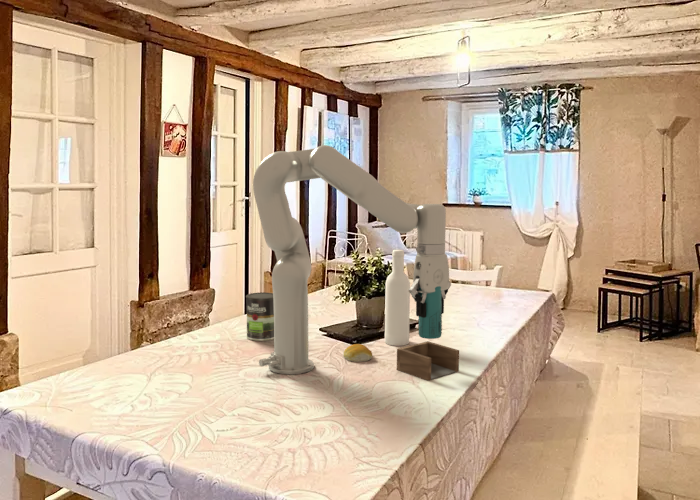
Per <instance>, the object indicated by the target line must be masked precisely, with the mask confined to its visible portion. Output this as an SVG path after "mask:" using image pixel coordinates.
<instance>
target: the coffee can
mask: <svg viewBox="0 0 700 500" xmlns="http://www.w3.org/2000/svg"><path fill="white" fill-rule="evenodd" d="M245 298H246V339H247V340H250V341H255V342H266V341H272V340H273V341H274V301H273V292H261V291H260V292H252V293H247V294H246V295H245Z"/></svg>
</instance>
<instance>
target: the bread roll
mask: <svg viewBox="0 0 700 500" xmlns="http://www.w3.org/2000/svg"><path fill="white" fill-rule="evenodd" d="M343 357H344V358H345V360H347V361H349V362H354V363H362V362H367V361H370V360H371V359H372V357H373V352H372V350H370V349H369V348H368V347H367V346H366V345H364V344H360V343H354V344H351V345H349V346H347V347H346V348H345V349H344V351H343Z"/></svg>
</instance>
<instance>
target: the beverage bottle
mask: <svg viewBox="0 0 700 500" xmlns="http://www.w3.org/2000/svg"><path fill="white" fill-rule="evenodd" d="M420 290H421V288H420ZM421 291H422V290H421ZM420 296H421V297H422V293H420ZM424 303H426V317H425V318H423V317H419V316H418V318H417V321H418V322H417V324H418V325H417V326H418V328H417V329H418V336H419V337H420V338H421V339H428V340H433V339H435V340H436V339H439V338H442V334H443V332H442V325H443V321H442V319H443V314H442V301H441V287H440V286H438V287H436V288H435V292H433V293H427V296H426V299H425V302H424Z"/></svg>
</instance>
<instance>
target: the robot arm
mask: <svg viewBox="0 0 700 500" xmlns="http://www.w3.org/2000/svg"><path fill="white" fill-rule="evenodd" d="M314 179H315V180H316V179H321V180H323V181H324V182H325V183H327V184H328V185H330V186H331V187H333V188H335V189H336V190H338V191H339V192H340V193H342V195H344V196H346V198H348V199H350V200H351V201H352V202H354V203H355V204H356V205H358V206H360V207H361V208H363V209H365V210H366V211H367V212H369V213H370V214H371V215H372V216H374V217H376V218H377V219H378V220H379V221H381V222H382V223H383V224H386V225H387V226H388V227H389V228H391V229H393V231H395V232H397V233H400V234H407V233H410V232H411V231H413V230H415V229H416V231H417V234H416V235H417V236H416V237H417V241H416V242H417V244H416V248H415V251H416V255H415V258H414V260H415V261H414V265H413V276H412V278H413V279H412V283H411V285H410V289H409V293H410V296H411V297H412V298H413V300H414V302H415V303H416V304H415V306H416V307H415V310H416V312H415V315H416V317H418V318H419V317H423V318H425V317H426V303H424V302H425V299H426V296H427V293H433V292H435V288H436V287H438V286H440V287H441V301H442V315H443V314H444V313H445V299H446V298H447V294H448V292H449V290H450V288H451V287H452V283H451V282H450V268H449V259H448V255H447V254H446V223H447V221H446V220H447V219H446V218H447V216H446V215H447V214H446V213H447V211H446V207H445V206H444V205H443V204H440V203H423V204H417V203H409V202H408V203H407V202H405V201H404V200H403V199H401V198H400V197H398V196H397V195H395V194H394V193H393V192H391V191H390V190H388V188H386V187H385V186H384V185H382V184H381V183H380V182H379V181H378V179H376V178H375V177H374V176H373V175H372V174H370V173H369V172H368V171H366V170H365V169H363V168H362V167H361V166H360V165H358V164H356V163H355V162H354V161H352V160H350V159H349V158H348V157H346V155H344V154H342V153H341V152H339V150H337V149H336V148H334V147H333V146H330V145H326V144H323V145H319V146H317V147H316V148H310V149H302V150H296V151H294V150H293V151H286V150H285V151H284V150H283V151H282V150H279V151H277V150H276V151H274V152H272V153H270V154H269V155H267V156H266V157H264V158H263V160H262V161H261V162H260V163H259V164H258V166H257V168H256V170H255V172H254V174H253V180H252V188H253V189H252V190H253V195H254V200H255V204H256V208H257V211H258V217H259V220H260V224H261V227H262V232H263V236H264V237H263V238H264V240H265V243H266V245H267V247H268V248H270V250H272V251H273V252H274V255H275V259H276V263H275V265H274V266H273V269H272V272H271V284H272V285H271V286H272V293H273V301H274V339H273V345H274V346H273V348H274V349H273V352H271V353H270V356H268V358H262V359H259V360H258V365H259V366H260V367H265V366H268V369H269V371H271V372H273V373H276V374H282V375H299V374H304V373H307V372H310V371H312V370H313V369H314V367H315V363H314V361H313V360H312V359H309V295H308V294H309V293H308V292H309V291H308V280H309V278H310V276H311V273H312V270H313V269H312V267H313V266H312V261H311V257H310V254H309V250H308V246H307V243H306V238H305V235H304V231H303V227H302V226H301V224H300V222H299V221H298V220H297V219H296V218H295V217H293V215H292V211H291V209H290V204H289V199H288V196H287V194H286V191H285V190H286V189H285V188H286V184H287V183H294V182H301V181H307V180H308V181H310V180H314ZM420 288H421V290H422V291H421V290H420ZM420 293H422V297H421V296H420Z"/></svg>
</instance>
